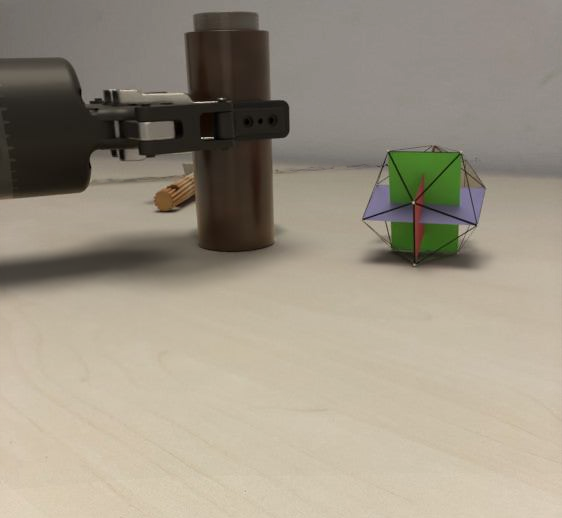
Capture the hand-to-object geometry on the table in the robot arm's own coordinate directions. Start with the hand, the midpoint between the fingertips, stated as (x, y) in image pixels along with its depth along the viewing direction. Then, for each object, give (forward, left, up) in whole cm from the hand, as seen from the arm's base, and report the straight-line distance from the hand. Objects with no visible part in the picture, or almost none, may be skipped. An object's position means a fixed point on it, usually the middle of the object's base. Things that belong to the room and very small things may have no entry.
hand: (266, 116), depth 46 cm
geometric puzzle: (+7, -8, -8) cm, 14 cm away
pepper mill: (-3, 0, -8) cm, 8 cm away
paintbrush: (-1, +22, -8) cm, 24 cm away
